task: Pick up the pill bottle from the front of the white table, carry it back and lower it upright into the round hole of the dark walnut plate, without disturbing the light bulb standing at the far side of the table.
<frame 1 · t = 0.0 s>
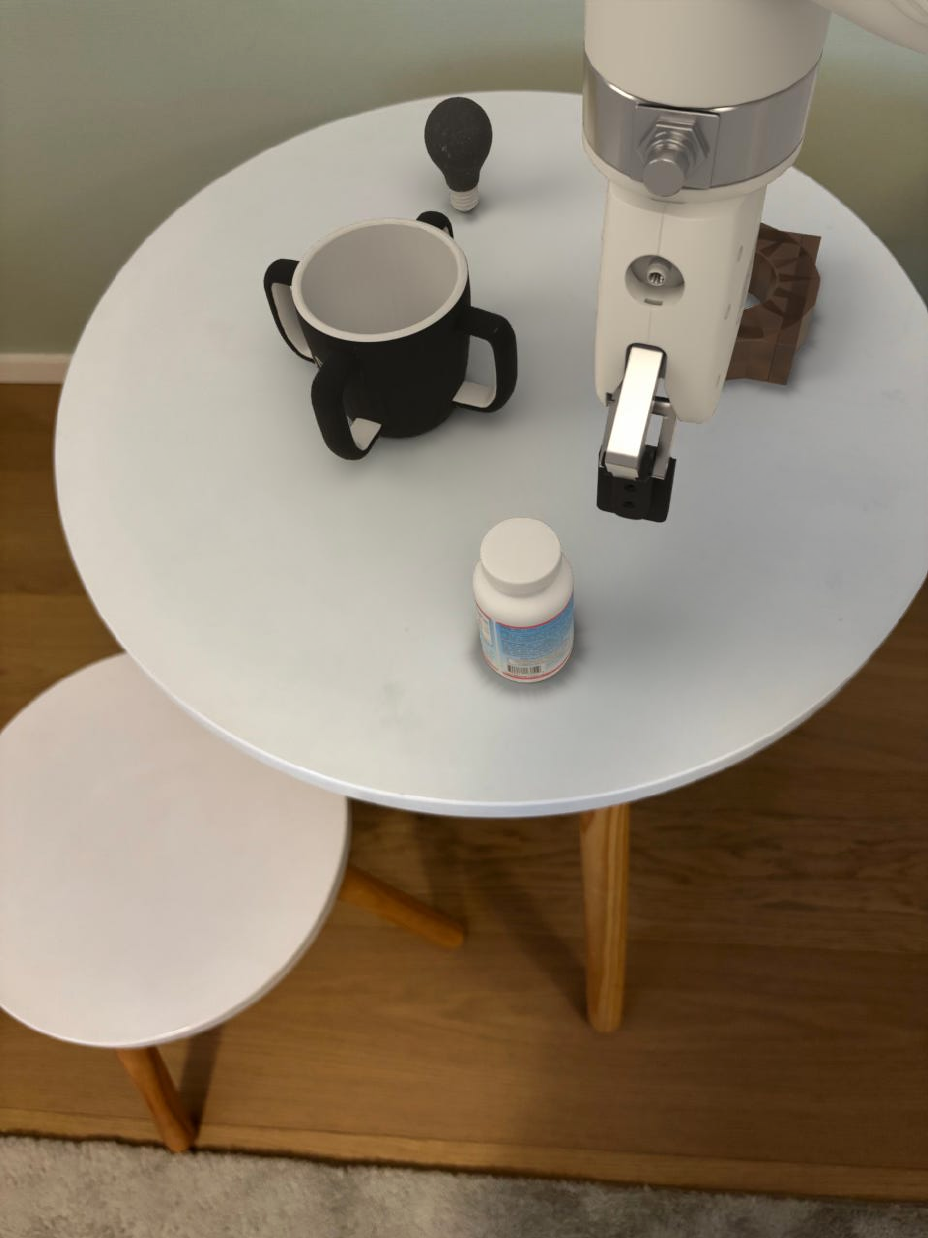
hand: (656, 431, 49), 22 cm above the table, tool pointing down, fingers open, 9 cm apart
mug: (402, 398, 81), on the table
hole plate: (721, 316, 82), on the table
pill bottle: (527, 645, 69), on the table
light bulb: (465, 210, 91), on the table
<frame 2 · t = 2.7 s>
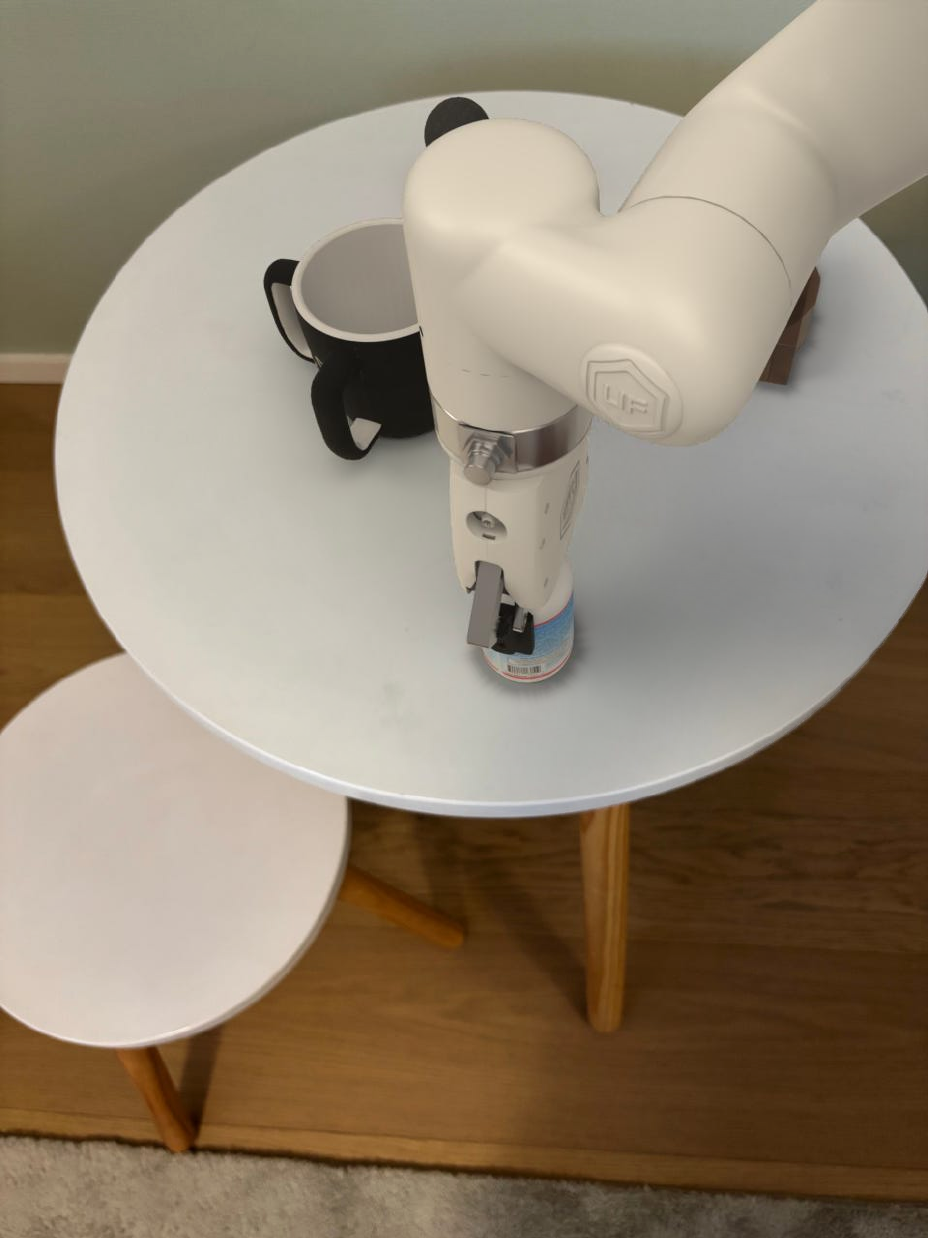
hand: (524, 597, 63), 6 cm above the table, tool pointing down, fingers closed on pill bottle, 6 cm apart
pill bottle: (527, 645, 69), on the table, touching gripper
everything else where it was.
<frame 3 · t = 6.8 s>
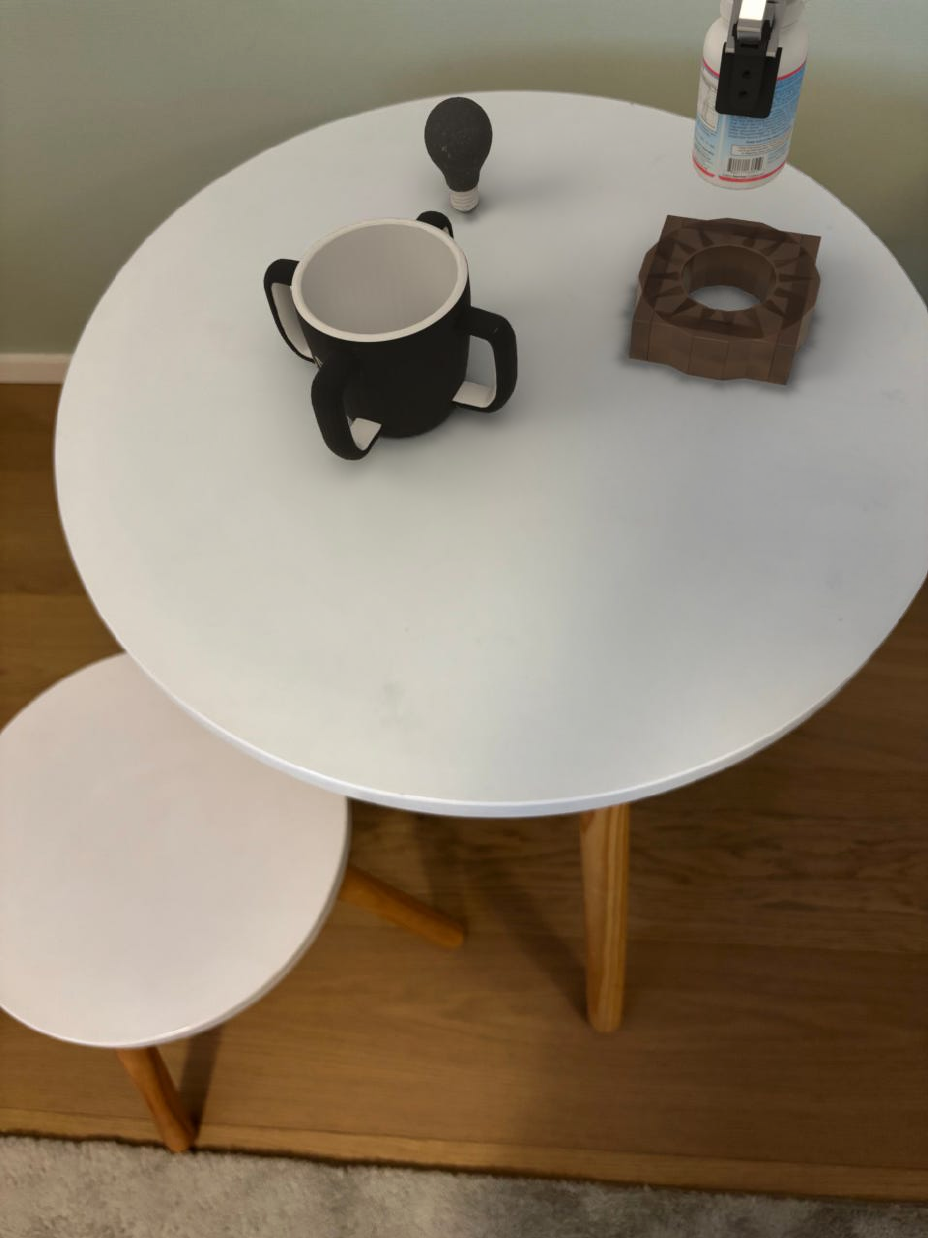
hand: (752, 75, 62), 22 cm above the table, tool pointing down, fingers closed on pill bottle, 6 cm apart
pill bottle: (737, 166, 68), point 15 cm above the table, touching gripper
everything else where it was.
when the fingers open (6 cm above the table, at t = 11.0 s): pill bottle stays where it is, resting in hole plate.
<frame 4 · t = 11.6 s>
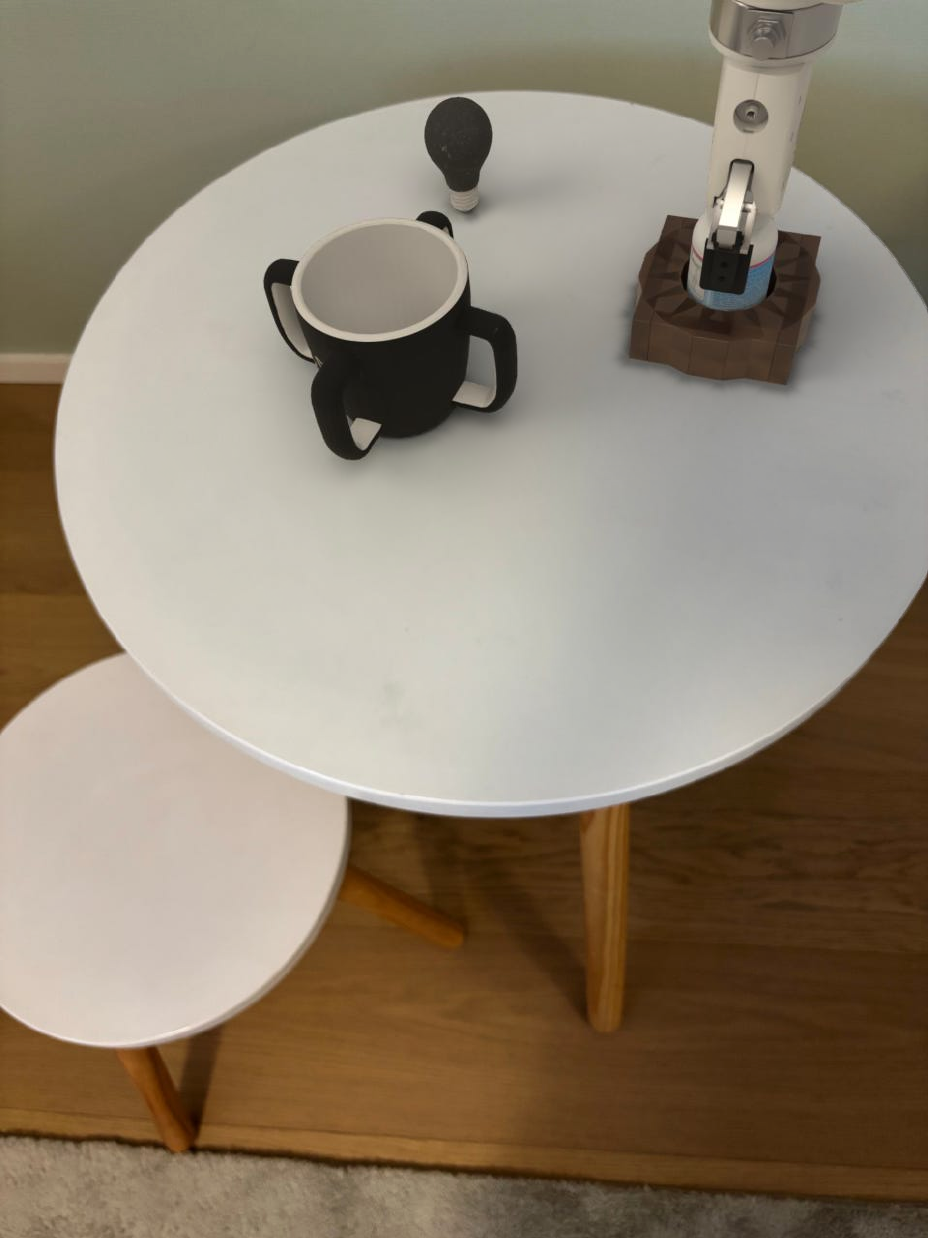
hand: (734, 243, 76), 7 cm above the table, tool pointing down, fingers open, 9 cm apart
pill bottle: (721, 319, 82), resting in hole plate
everything else where it was.
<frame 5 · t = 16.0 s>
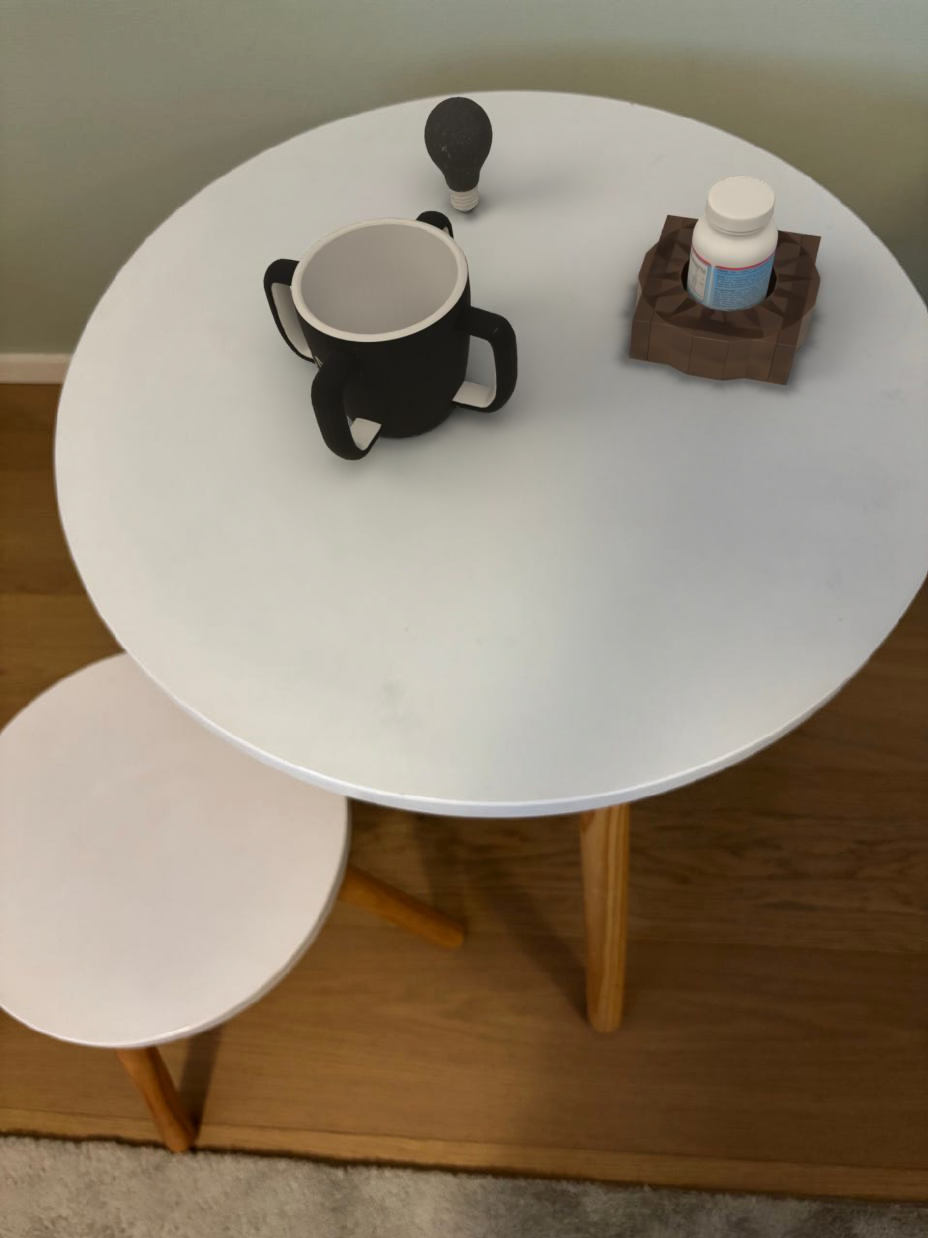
nothing on the table moved.
at the end: pill bottle 0.1 cm off-centre in the hole plate, point 0.0 cm above the hole plate's base; pill bottle tilted 0°; light bulb moved 0.2 cm from its start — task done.
